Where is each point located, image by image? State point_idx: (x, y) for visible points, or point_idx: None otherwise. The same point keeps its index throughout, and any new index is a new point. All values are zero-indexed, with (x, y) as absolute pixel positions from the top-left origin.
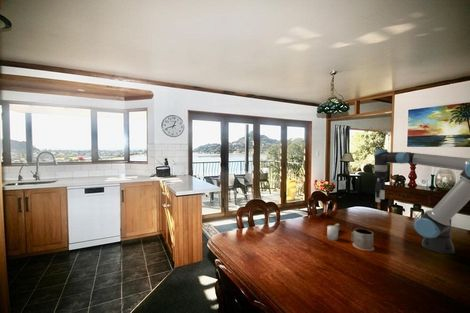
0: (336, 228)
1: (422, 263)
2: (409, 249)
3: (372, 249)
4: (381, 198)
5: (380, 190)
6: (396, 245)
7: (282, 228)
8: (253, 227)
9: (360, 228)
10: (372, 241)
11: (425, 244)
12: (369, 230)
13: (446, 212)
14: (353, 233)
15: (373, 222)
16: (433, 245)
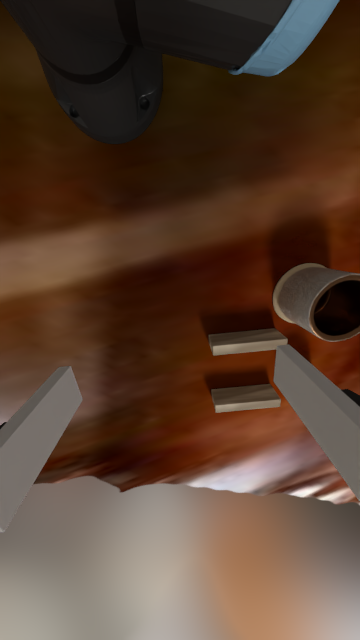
0: None
1: (330, 99)
2: (217, 172)
3: (317, 265)
4: (75, 392)
5: (7, 517)
6: (211, 220)
7: (311, 469)
8: (349, 499)
9: (314, 330)
10: (333, 269)
11: (148, 112)
12: (318, 297)
13: None
14: (284, 342)
15: (18, 355)
16: (157, 64)
